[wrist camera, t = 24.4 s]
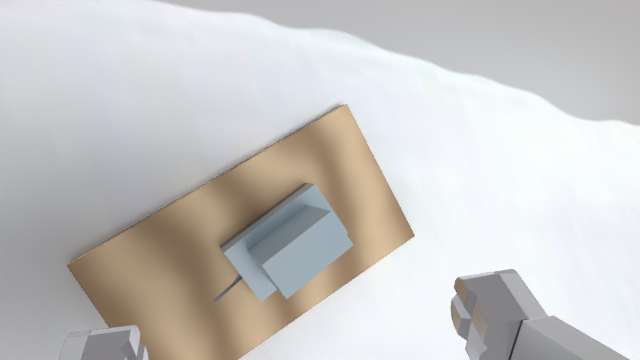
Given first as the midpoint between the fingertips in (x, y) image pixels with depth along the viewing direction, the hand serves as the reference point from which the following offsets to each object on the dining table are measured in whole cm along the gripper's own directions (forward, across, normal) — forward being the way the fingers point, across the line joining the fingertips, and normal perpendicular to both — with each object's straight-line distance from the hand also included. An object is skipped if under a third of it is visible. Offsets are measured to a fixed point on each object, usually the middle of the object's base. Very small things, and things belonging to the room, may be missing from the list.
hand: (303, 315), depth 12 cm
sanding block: (+23, 0, +17) cm, 29 cm away
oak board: (+24, +2, +19) cm, 30 cm away
